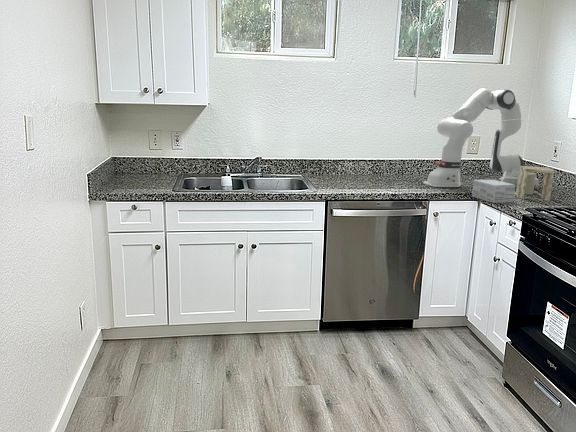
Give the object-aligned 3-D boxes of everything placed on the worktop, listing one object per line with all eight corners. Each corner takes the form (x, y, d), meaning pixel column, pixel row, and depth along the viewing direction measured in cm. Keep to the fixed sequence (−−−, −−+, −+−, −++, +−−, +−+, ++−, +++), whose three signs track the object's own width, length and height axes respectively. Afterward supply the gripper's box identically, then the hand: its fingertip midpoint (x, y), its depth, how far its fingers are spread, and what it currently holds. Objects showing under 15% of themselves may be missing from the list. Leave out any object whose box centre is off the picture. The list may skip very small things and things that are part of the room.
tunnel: (509, 190, 293) (513, 162, 289) (534, 192, 291) (539, 163, 287) (521, 199, 269) (526, 168, 265) (549, 201, 267) (554, 170, 263)
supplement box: (513, 202, 263) (516, 184, 260) (493, 203, 258) (495, 185, 256) (491, 195, 278) (493, 178, 276) (471, 196, 274) (473, 179, 272)
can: (512, 191, 292) (515, 170, 289) (527, 191, 292) (530, 171, 290) (520, 194, 283) (523, 173, 280) (536, 194, 284) (539, 173, 281)
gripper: (498, 172, 305) (504, 176, 292) (534, 174, 302) (542, 178, 289) (497, 183, 307) (503, 187, 293) (533, 185, 304) (540, 189, 290)
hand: (523, 183), depth 291 cm, fingers closed
